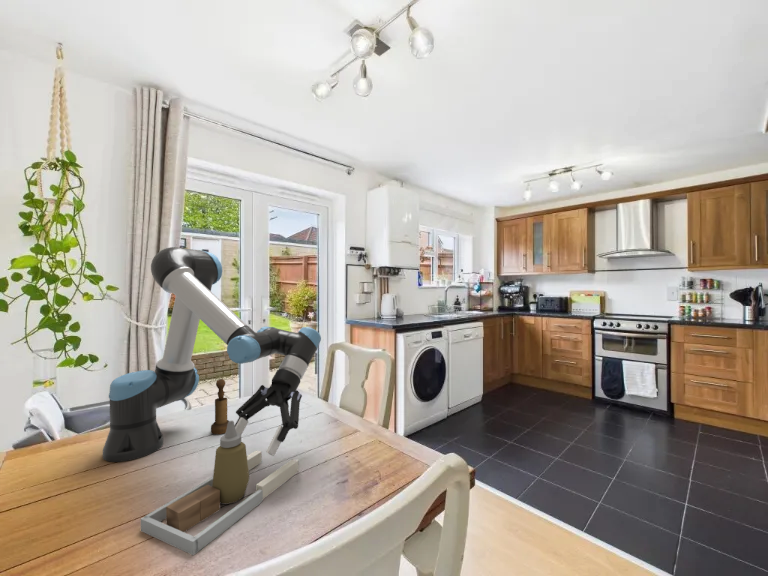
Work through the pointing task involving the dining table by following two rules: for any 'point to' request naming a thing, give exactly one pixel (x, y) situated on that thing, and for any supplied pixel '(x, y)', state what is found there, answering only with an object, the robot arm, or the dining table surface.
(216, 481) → the squeeze bottle
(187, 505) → the brown cube block
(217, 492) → the brown cubic block
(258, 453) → the slot rails
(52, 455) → the dining table surface
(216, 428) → the wooden pepper mill
